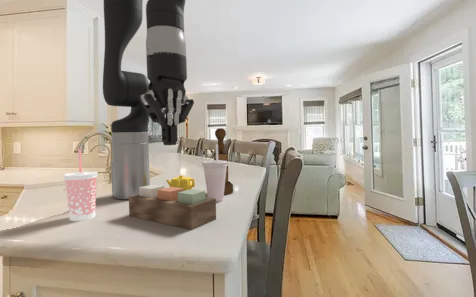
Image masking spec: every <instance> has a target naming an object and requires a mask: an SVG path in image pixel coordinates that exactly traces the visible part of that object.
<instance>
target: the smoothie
mask: <svg viewBox="0 0 476 297" xmlns="http://www.w3.org/2000/svg"><path fill="white" fill-rule="evenodd" d="M215 153H216V160H214V159H213V160H204V161H202V162H201V163H202V165H201V167H203V173H204V179H205V180H204V182H205V187H206V193H207V194H206V195H207V198H214V199H216V203H218V202H219V203H220V202H223V201H224V197H225V195H224V187H225V178H226V167H227V166H228V167H229V160H228V161H223V160H218V143H216V144H215Z"/></svg>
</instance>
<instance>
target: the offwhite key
mask: <svg viewBox="0 0 476 297" xmlns="http://www.w3.org/2000/svg"><path fill="white" fill-rule="evenodd" d="M163 188H165V185H159V184H150V185H148V186H143V187H139V196H143V197H149V198H152V197H156V196H158V191H157V190H159V189H163Z"/></svg>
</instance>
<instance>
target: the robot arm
mask: <svg viewBox="0 0 476 297" xmlns="http://www.w3.org/2000/svg"><path fill="white" fill-rule="evenodd" d="M185 5H186V0H147V2H146V5H145V17H146V19H145V20H146V40H145V49H146V51H145V54H146V75H145V74H143V73H141V72H133V71H128V70H127V71H126V70H122V61H123V55H124V53H125V50H126V49H127V47H128V45H129V44H130V42H131V41H132V39H133V37H134V36H135V35H136V33H137V32H138V30H139V29H140V27H141V26H142V22H143V0H103V21H104V56H103V71H102V96H103V99H104V101H105V103H106V104H107V105H108V106H111V107H124V108H125V107H126V108H127V107H128V108H130V112H129V114H128V115H125V117H122V118H120V119H117V120H114V121H112V122H111V124H110V129H111V151H112V152H111V154H112V155H111V156H112V160H111V162H110V169H111V170H110V171H111V195H112V196H113V197H114V199H117V200H118V199H119V200H129V196H133V195H137V194H139V187H143V186H148V185H151V179H150V176H151V175H150V149H149V147H150V146H149V122H150V120H151V121H152V123H157V124H159V126H160V128H161V141H162V143H163V146H175V145H177V144H178V143H177V142H178V126H179V125H180V124H182V123H185V121H186V120H187V118H188V116H189V114H190V111H191V110H192V108H193V106H194V104H195V100H194V99H192V98H190V99H189V98H188V96H187V95H186V93H187V91H186V88H185V82H186V81H187V79H188V71H187V70H188V69H187V66H188V65H187V45H186V36H185V22H184V21H185V19H184V16H185V14H184V13H185V12H184V11H185Z"/></svg>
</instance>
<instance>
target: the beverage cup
mask: <svg viewBox="0 0 476 297" xmlns="http://www.w3.org/2000/svg"><path fill="white" fill-rule="evenodd" d="M77 151H78V154H77V155H78V171H77V172H69V173H64V174H63V175H62V177H63V178H62V179H63V180H64V184H65V192H66V200H67V208H68V210H67V211H68V216H69V220H70V221H72V222H73V221H74V222H80V221H81V222H82V221H87V220H90V219H93V218H95V217H96V207H97V206H96V199H97V198H96V197H97V195H96V194H97V177H98V174H99V173H98V171H83V169H82V168H83V167H82V166H83V165H82V149H81V148H78V150H77Z"/></svg>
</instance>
